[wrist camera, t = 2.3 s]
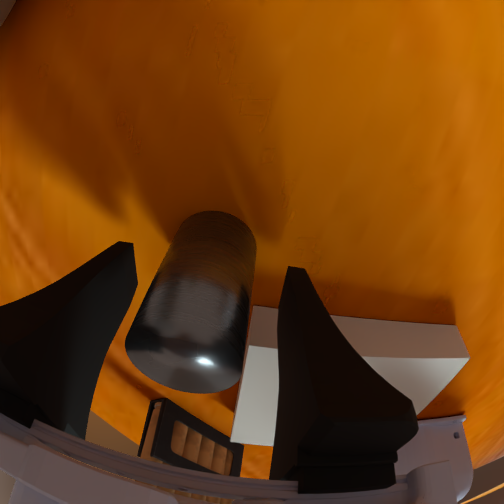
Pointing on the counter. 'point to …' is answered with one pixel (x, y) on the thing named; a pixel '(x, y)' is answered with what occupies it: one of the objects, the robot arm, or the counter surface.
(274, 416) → the socket block
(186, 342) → the metal peg
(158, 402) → the ammunition clip
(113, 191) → the counter surface
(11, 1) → the grey bottle
